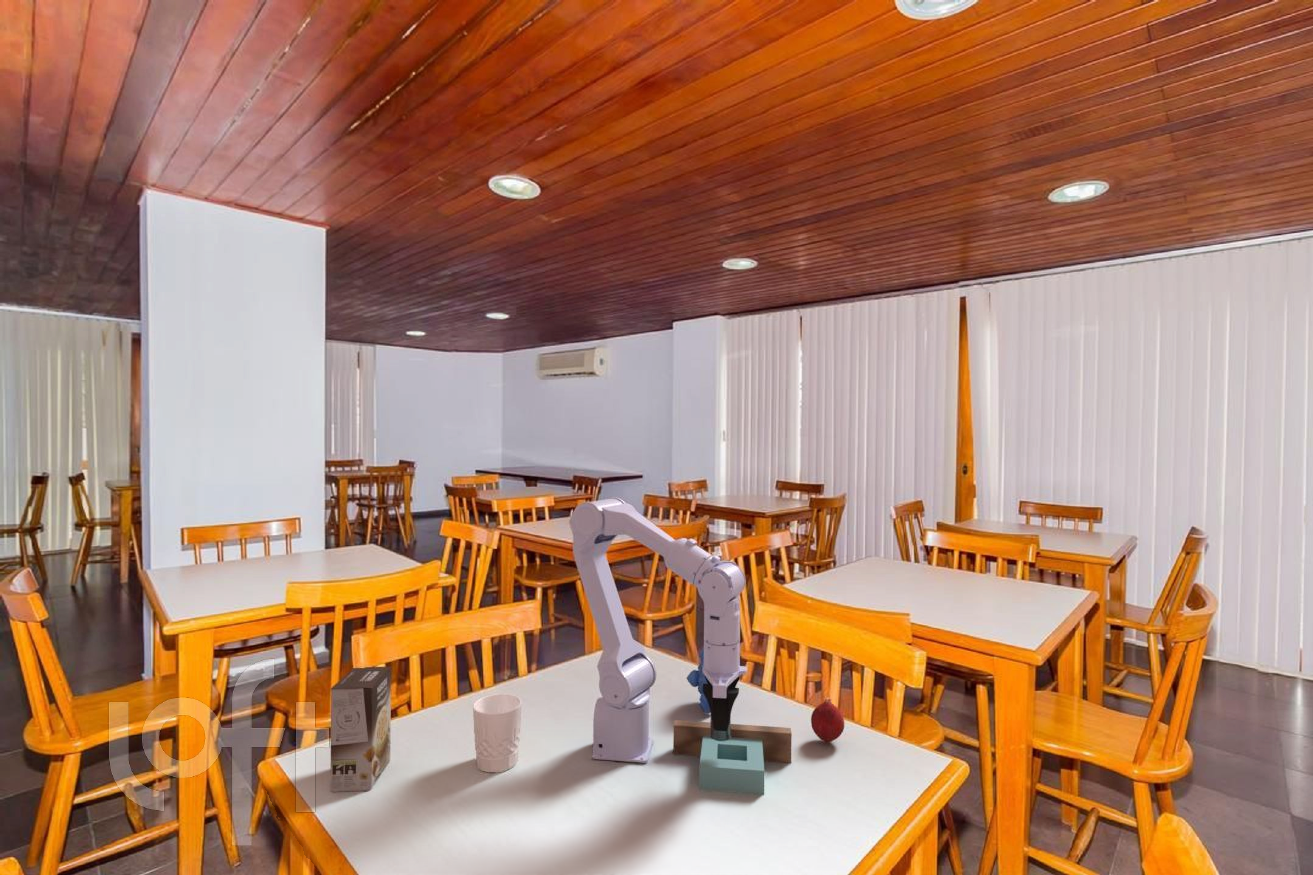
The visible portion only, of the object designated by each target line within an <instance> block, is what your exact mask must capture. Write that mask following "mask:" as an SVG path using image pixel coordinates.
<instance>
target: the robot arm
mask: <svg viewBox="0 0 1313 875" xmlns="http://www.w3.org/2000/svg"><path fill="white" fill-rule="evenodd" d="M568 523H569V526H570V529H571V532H572V536H573V537H572V555H573V558H574V560H575V562H574V563H575V565H576V568H577V570H578V574H579V578H580V580H581V583H582V587H583V590H584V593H585V596H586V600H587V602H588V606H589V609H590V613H591V616H592V618H593V622H594V624H595V629H596V631H597V634H598V637H599V641H600V644H601V647H602V653H601V655H600V658H599V660H598V662H597V665H596V666H597V671H598V674H599V676H598V677H599V680H598V686H599V687H598V688H599V692H600V694H601V697H598V698H597V699H596V702H595V706H594V711H593V721H592V722H593V724H592V725H593V727H592V728H593V734H592V737H593V739H592V740H593V741H592V742H593V744H592V745H593V746H592V747H593V749H592V752H593V753H592V755H591V756H592V759H593V760H603V761H604V760H605V761H616V762H617V761H619V762H628V763H629V762H630V763H642V764H643V763H644V764H645V763H648V761H649V757H650V754H651V751H652V747H653V745H654V744H653V743H654V738H653V737H649V723H650V722H649V721H650V720H649V719H650V718H649V712H650V709H649V708H650V700H649V699H650V693H651V692H650V691H651V690H650V689H651V687H653V686H654V684H655V683H656V679H657V670H656V665H655V664H654V663H653V661H652V659H650V657H649V656H648V654H647V652H646V649H645V647H644V645H643V644H641V643H640V642H638V641H636V640H635V639H634V638H633V636H632V632H631V629H630V625H629V623H628V621H627V617H626V614H625V611H624V608H623V604H622V601H621V598H620V596H619V593H618V592H619V591H618V589H617V586H616V583H615V579H614V577H613V574H612V570H611V567H610V565H609V561H608V559H607V556H606V555H607V552H608V550H609V548H610V546H611V544H612V542H613V541H614V540H615V539H616V538H617V537H618V536H619V535H620V536H624V535H625V536H628V537H630V538H631V539H633V540H635V541H636V542H638V543H640V544H642V545H643V546H644V547H647V548H648V549H650V550H651V551H653V552H655V553H656V554H658V555H660V556H662V557H663V559H664V564H665V567H666V568H667V569H668V570H670V571H671V572H673V573H675V574H676V575H678V577H680V578H682V579H683V580H685V582H687V583H689V584H690V585H692V586H693V587H695V588H697V592H698V594H699V596H700V598H701V599H702V601H703V606H704V607H703V649H704V665H703V670H702V671H703V673H704V675H705V679H706V681H707V683H708V684H703V693H704V696H705V697H706V699H707V702H708V705H709V708H710V712H711V713H710V719H711V718H712V724H713V728H714V730H715V731H727V730H728V727H729V722H730V716H731V714H732V709H733V706H734V704H735V701H736V699H737V698H738V695H739V693H740V688H739V687H737V685H738V683H739V681H740V676H747V674H748V668H747V666H745V665H742V666H741V665H740V660H741V658H740V655H741V653H740V651H741V650H740V649H741V648H740V645H741V643H740V640H741V605H740V604H741V597H740V594H741V593H743V591H744V590H745V587H746V583H747V581H746V580H747V579H746V575H745V573H744V571H743V570H742V568H741V567H740V566H739V565H738V564H736V562H735V561H731V560H725V561H721V557H720V556H718V555H716V554H715V555H712V553H709V552H708V551H706V550H705V549H703V548H702V547H699V546H698V545H697V544H698V541H697V540H695V539H693V538H688V539H687V538H686V537H681V538H679V539H678V538H677V539H674V538H673V537H672V536H670V535H669V534H668V533H667V532H665V531H664V530H663V529H661V528H660V527H658V526H657V525H655V524H654V523H653V522H652V521H650V520H649V519H648V518H646V517H645V516H643V514H641V513H640V512H638V511H637V510H636V509H635V507H634V505H632V504H629V503H627V502H625V501H624V500H623V499H621V498H620V497H616V496H615V497H610V498H607V499H606V498H605V499H601V500H600V499H598V500H595V501H594V500H593V501H583V502H581V503H579V504H578V505H577V506H576V507H575V508H574V510H573V512H572V514H571V517H570V518H569V521H568Z"/></svg>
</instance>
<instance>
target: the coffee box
mask: <svg viewBox="0 0 1313 875" xmlns="http://www.w3.org/2000/svg"><path fill="white" fill-rule="evenodd" d="M391 673H392V666H366V667H354V668H352V669H351V670H350V671H349V672H347V674H345V675H344V676H343V677H342V678H341V679H339V681H337V682H336V683H335V684H334V685H332V687H331V688H330V790H329V791H330V792H331V793H333V792H334V793H335V792H338V793H339V792H359V791H362V792H363V791H371V790H372V789H373V788H374V786H375V785H376V783H377V781H378V780H379V778H380V777H381V776H382V774H383V773H384V771H385V769H386V768H387V766H388V765H389V763H390V762H391V744H392V742H391V728H392V727H391V717H392V716H391V713H392V712H391V710H392V709H391V708H392V707H391V705H392V702H391V698H392V697H391V695H392V694H391V692H392V689H391V688H392V684H391V683H392V681H391V680H392V674H391Z"/></svg>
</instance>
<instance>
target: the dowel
mask: <svg viewBox="0 0 1313 875" xmlns="http://www.w3.org/2000/svg"><path fill="white" fill-rule="evenodd" d="M731 718H732V717H731V716H730V722H729V727H728V730H727V731H715V730H714V728H713V724H712V718H711V717H710V722H711V730H710V736H711V738H712V739H713V740H716V741H727V740H729V739H730V737H731V724H732V723H731V722H732V720H731Z"/></svg>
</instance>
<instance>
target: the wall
mask: <svg viewBox="0 0 1313 875" xmlns="http://www.w3.org/2000/svg"><path fill="white" fill-rule="evenodd" d="M710 730H711V721H696V720H695V721H693V720H680V719H679V720H678V719H675V720H674V721H673V743H672V744H673V752H672V753H673V754H674V755H681V756H683V755H684V756H692V757H693V756H695V757H696V756H697V757H701V749H702V741H703V735H705V736H710ZM731 737H735V738H750V739H762V745H763V759H764V762H774V763H775V762H777V763H788V764H789V763H792V737H793V736H792V728H791V727H786V726H785V727H783V726H767V725H753V724H739V723H731Z"/></svg>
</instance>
